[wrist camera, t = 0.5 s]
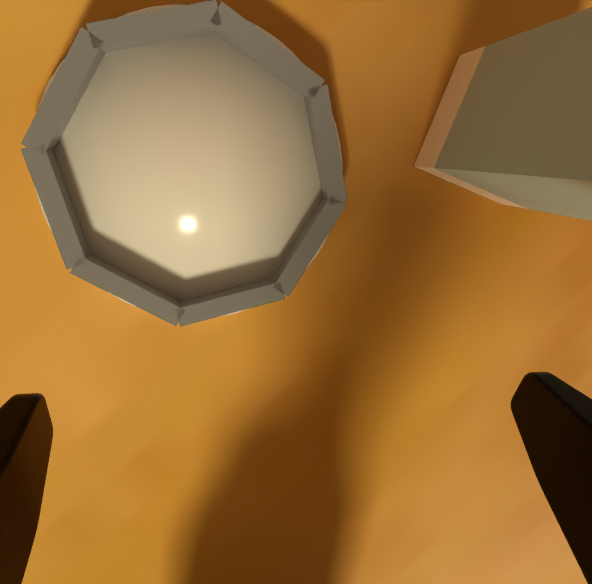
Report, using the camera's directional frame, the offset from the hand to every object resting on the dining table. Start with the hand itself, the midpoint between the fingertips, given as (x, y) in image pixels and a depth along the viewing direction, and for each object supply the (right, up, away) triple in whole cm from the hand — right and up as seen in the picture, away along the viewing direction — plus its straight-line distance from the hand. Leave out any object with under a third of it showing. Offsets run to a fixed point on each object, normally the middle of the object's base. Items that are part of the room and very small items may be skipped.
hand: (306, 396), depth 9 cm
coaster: (-4, +7, +11) cm, 14 cm away
